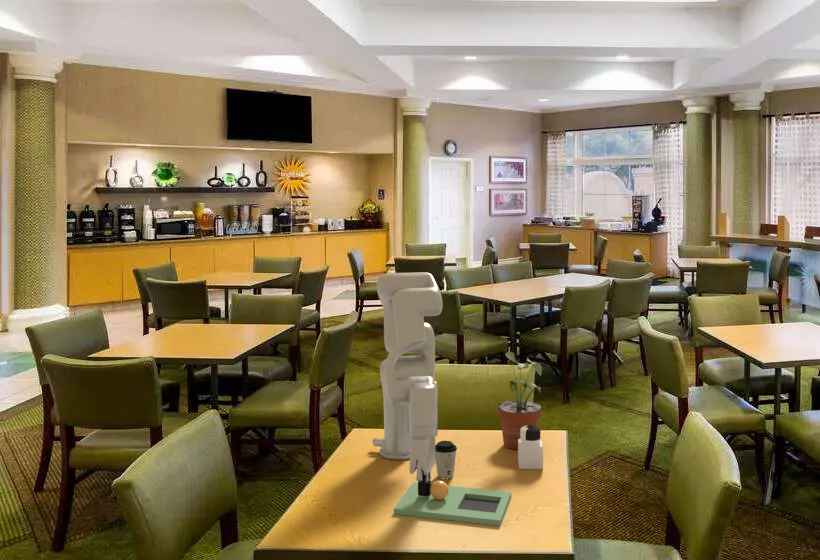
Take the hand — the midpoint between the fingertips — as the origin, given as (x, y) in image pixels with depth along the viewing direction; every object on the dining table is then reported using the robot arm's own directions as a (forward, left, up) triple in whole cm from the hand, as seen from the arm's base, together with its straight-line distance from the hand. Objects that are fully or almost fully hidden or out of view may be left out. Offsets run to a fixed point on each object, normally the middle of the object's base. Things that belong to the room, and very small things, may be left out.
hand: (424, 495), depth 195 cm
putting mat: (+8, 0, -2) cm, 8 cm away
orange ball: (+4, 0, +2) cm, 5 cm away
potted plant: (+19, +51, -2) cm, 55 cm away
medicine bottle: (+24, +34, -2) cm, 42 cm away
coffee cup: (+1, +19, -2) cm, 19 cm away
